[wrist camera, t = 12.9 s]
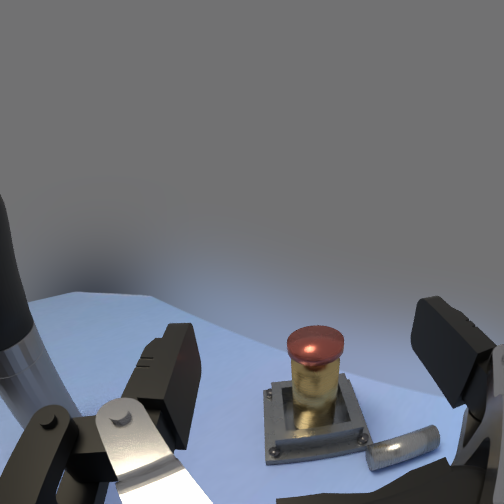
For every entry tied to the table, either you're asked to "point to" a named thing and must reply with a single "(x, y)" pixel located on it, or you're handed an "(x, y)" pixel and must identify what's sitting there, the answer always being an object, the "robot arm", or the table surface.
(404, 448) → the cylinder
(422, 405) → the table surface
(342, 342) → the valve
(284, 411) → the socket
